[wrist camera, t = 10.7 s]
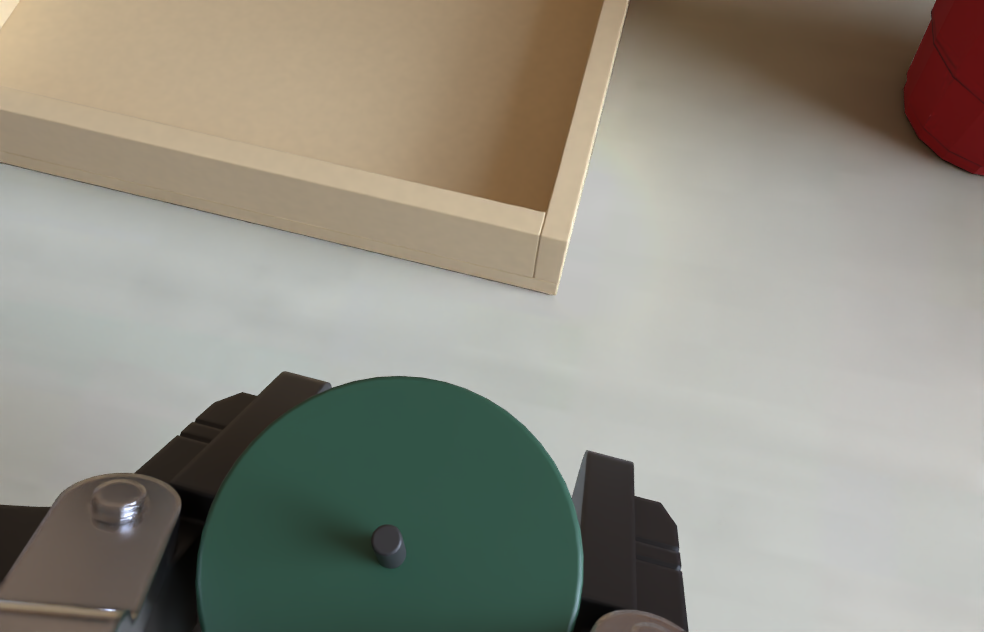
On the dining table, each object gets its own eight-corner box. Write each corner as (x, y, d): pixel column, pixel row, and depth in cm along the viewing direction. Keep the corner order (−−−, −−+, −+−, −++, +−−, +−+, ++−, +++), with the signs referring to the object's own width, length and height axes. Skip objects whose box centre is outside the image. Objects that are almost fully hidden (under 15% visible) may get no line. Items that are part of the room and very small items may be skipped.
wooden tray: (-79, 143, 28) (-145, 75, 25) (114, -138, 34) (81, -220, 31) (556, 296, 26) (568, 242, 23) (637, -30, 32) (655, -106, 29)
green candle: (281, 710, 15) (92, 707, 7) (351, 497, 17) (263, 304, 9) (494, 772, 15) (545, 842, 7) (544, 550, 16) (631, 399, 9)
